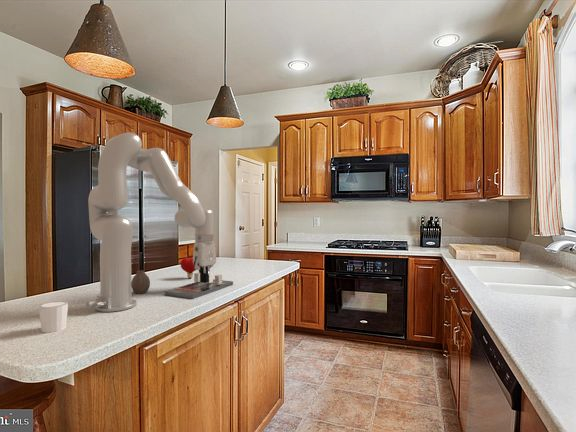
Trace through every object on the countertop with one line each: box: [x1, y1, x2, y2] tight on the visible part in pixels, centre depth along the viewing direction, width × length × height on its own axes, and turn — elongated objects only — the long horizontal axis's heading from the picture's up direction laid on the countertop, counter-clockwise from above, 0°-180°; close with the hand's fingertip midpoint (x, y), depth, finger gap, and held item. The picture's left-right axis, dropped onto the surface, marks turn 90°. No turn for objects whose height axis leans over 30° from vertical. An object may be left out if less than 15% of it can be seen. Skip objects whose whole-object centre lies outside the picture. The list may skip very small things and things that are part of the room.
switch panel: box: [164, 272, 234, 300], centre depth 140 cm, size 26×14×6 cm, turn 155°
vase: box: [131, 269, 151, 295], centre depth 135 cm, size 7×7×9 cm
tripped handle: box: [207, 272, 214, 283], centre depth 144 cm, size 2×2×4 cm
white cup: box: [38, 300, 69, 334], centre depth 94 cm, size 7×7×7 cm
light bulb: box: [180, 257, 196, 279], centre depth 163 cm, size 9×7×10 cm
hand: (204, 282), depth 141 cm, fingers closed
